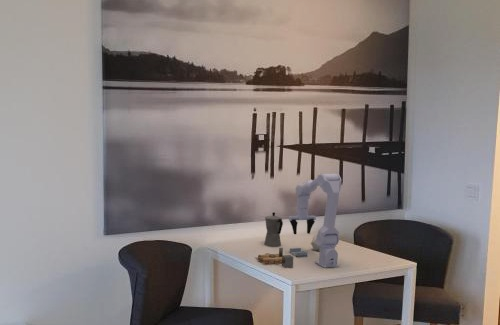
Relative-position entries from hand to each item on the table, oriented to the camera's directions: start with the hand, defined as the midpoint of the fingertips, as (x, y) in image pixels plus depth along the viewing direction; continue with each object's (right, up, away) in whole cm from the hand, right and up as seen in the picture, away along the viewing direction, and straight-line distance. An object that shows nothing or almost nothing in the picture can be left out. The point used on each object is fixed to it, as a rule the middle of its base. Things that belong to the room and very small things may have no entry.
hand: (301, 233), depth 296 cm
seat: (-2, -10, -4) cm, 11 cm away
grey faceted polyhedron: (+10, -10, +7) cm, 16 cm away
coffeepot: (-14, -8, +15) cm, 22 cm away
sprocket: (-16, -11, -18) cm, 26 cm away
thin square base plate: (-16, -11, -18) cm, 26 cm away
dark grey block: (-9, -12, -27) cm, 31 cm away
